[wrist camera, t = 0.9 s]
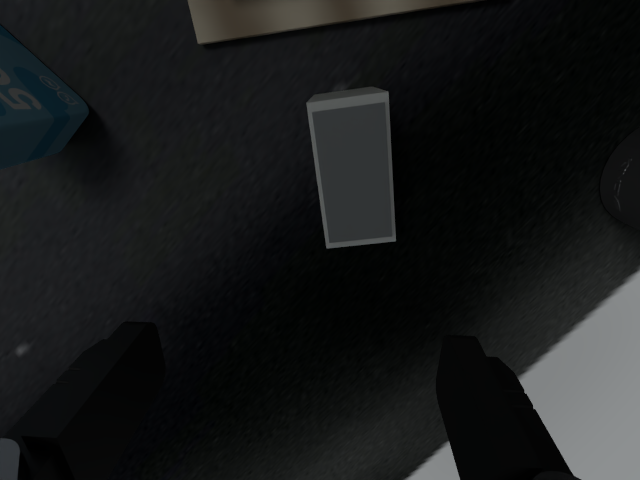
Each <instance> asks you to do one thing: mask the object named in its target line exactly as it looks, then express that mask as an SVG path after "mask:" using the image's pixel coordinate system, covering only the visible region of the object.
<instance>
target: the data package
mask: <svg viewBox="0 0 640 480" xmlns="http://www.w3.org/2000/svg"><path fill="white" fill-rule="evenodd" d="M88 114H89V109H88V106H87V104H86V103H85V102H84V100H83V99H82V98H81V97H80V96H78V95H77V94H76V93H75V92H74V91H73V90H72V89H71V88H70V87H68V86H67V85H66V84H65V83H64V82H63V81H62V80H61V79H60V78H59V77H57V76H56V75H55V74H54V73H53V72H52V71H51V70H50V69H49V68H47V67H46V66H45V65H44V64H43V63H42V62H41V61H40V60H39V59H38V58H36V57H35V56H34V55H33V54H32V53H31V52H30V51H29V50H28V49H26V48H25V47H24V46H23V45H22V44H21V43H20V42H19V41H18V40H17V39H15V38H14V37H13V36H12V35H11V34H10V33H9V32H8V31H7V30H5V29H4V28H3V27H2V26H1V25H0V169H4V168H7V167H11V166H14V165H18V164H21V163H25V162H28V161H32V160H35V159H39V158H42V157H46V156H49V155H53V154H56V153H59V152H60V151H61V150H62V149H63V148H64V147H65V145H66V144H67V143H68V141H69V140H70V139H71V137H72V136H73V135H74V133H75V132H76V131H77V129H78V128H79V127H80V125H81V124H82V123H83V121H84V120H85V119H86V117H87V116H88Z"/></svg>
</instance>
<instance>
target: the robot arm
mask: <svg viewBox="0 0 640 480" xmlns="http://www.w3.org/2000/svg"><path fill="white" fill-rule="evenodd" d="M600 194H601V200H602V202H603V204H604V206H605V208H606V210H607V211H608V212H609V213H610V214H611V215H612V216H613V217H615V218H617V219H618V220H620V221H622V222H624V223H626V224H628V225H630V226H631V227H633V228H635V229H637V230H639V231H640V127H639V128H638V129H636V130H635V131H634V132H632V133H631V134H629V135H628V136H627V137H626V138H625V139H624V140H623V141H622V142H621V143H620V144H619V145H618V146H617V148H616V149H615V150H614V152H613V153H612V154H611V156H610V157H609V159H608V161H607V163H606V165H605V167H604V170H603V173H602V177H601V181H600ZM165 369H166V368H165V361H164V356H163V352H162V348H161V343H160V339H159V334H158V330H157V327H156V325H155V324H154V323H152V322H123V323H122V324H121V325H120V326H119V327H118V328H117V329H116V330H115V331H114V332H113V334H112V335H111V336H110V337H109V338H108V339H103V340H101V341H100V342H98V343H96V344H95V345H93V346H92V347H90V348H89V349H87V350H86V351H84V352H83V353H82V354H81V355H80V356H79V357H78V358H77V359H76V360H75V361H74V362H73V364H72V365H71V366H70V367H69V370H68V371H65V372H64V373H63V374H62V375H61V376H60V377H59V378H58V379H57V382H56V384H53V385H52V386H51V387H50V388H49V389H48V390H47V391H46V392H45V393H44V394H43V395H42V396H41V397H40V399H39V400H38V401H37V402H36V403H35V404H34V405H33V406H32V407H31V408H30V409H29V410H28V411H27V412H26V413H25V414H24V416H23V417H22V418H21V419H20V420H19V421H18V422H17V423H16V424H15V425H14V426H13V427H12V428H11V429H10V430H9V431H8V433H7V434H6V435H5V436H4V437H3V438H0V480H107V479H108V477H109V475H110V473H111V472H112V470H113V468H114V467H115V465H116V463H117V461H118V460H119V458H120V456H121V455H122V453H123V451H124V450H125V448H126V446H127V444H128V443H129V441H130V439H131V438H132V436H133V434H134V432H135V431H136V429H137V427H138V426H139V424H140V422H141V421H142V419H143V417H144V415H145V414H146V412H147V410H148V409H149V407H150V405H151V403H152V402H153V400H154V398H155V397H156V395H157V393H158V392H159V390H160V388H161V386H162V384H163V381H164V377H165ZM436 393H437V400H438V404H439V407H440V411H441V414H442V418H443V421H444V425H445V428H446V432H447V435H448V439H449V442H450V446H451V449H452V452H453V456H454V459H455V463H456V466H457V470H458V473H459V477H460V480H581V479H579V478H577V477H575V476H574V475H573V474H572V472H571V471H570V469H569V467H568V466H567V464H566V462H565V460H564V459H563V457H562V455H561V453H560V452H559V450H558V448H557V446H556V445H555V443H554V441H553V439H552V438H551V436H550V434H549V432H548V431H547V429H546V427H545V425H544V424H543V422H542V420H541V418H540V417H539V415H538V413H537V412H536V410H535V409H533V405H532V403H531V401H530V399H529V398H528V396H527V394H525V393H524V389H523V387H522V385H521V384H520V382H519V380H518V378H517V377H516V375H515V373H514V372H513V371H512V370H511V369H510V368H509V367H508V366H506V365H505V364H504V363H503V362H502V361H501V360H500V359H499V358H498V357H486V355H485V353H484V351H483V349H482V347H481V345H480V343H479V341H478V339H477V338H476V337H475V336H455V335H446V336H445V337H444V339H443V344H442V349H441V355H440V360H439V366H438V371H437V377H436Z"/></svg>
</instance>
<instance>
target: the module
mask: <svg viewBox="0 0 640 480" xmlns="http://www.w3.org/2000/svg"><path fill="white" fill-rule="evenodd" d="M307 110H308V118H309V125H310V132H311V139H312V147H313V154H314V161H315V168H316V176H317V183H318V190H319V197H320V204H321V212H322V219H323V226H324V233H325V241H326V248H336V247H345V246H355V245H364V244H374V243H383V242H393V241H396V234H395V214H394V194H393V174H392V154H391V134H390V114H389V94H388V91H385V90H382V89H378V88H375V87H365V88H358V89H351V90H344V91H337V92H330V93H323V94H316V95H313V96H312V98H311V99H310V100H309V101H308V102H307Z"/></svg>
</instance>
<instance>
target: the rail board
mask: <svg viewBox="0 0 640 480" xmlns="http://www.w3.org/2000/svg"><path fill="white" fill-rule="evenodd" d="M479 1H485V0H188V3H189V8H190V12H191V16H192V20H193V24H194V29H195V33H196V37H197V41H198V44H202V45H204V44H211V43H217V42H223V41H230V40H236V39H242V38H249V37H255V36H262V35H268V34H274V33H281V32H287V31H293V30H300V29H306V28H313V27H319V26H325V25H332V24H338V23H345V22H351V21H357V20H364V19H370V18H376V17H383V16H389V15H396V14H402V13H408V12H415V11H421V10H428V9H434V8H440V7H447V6H453V5H459V4H466V3H472V2H479Z"/></svg>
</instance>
